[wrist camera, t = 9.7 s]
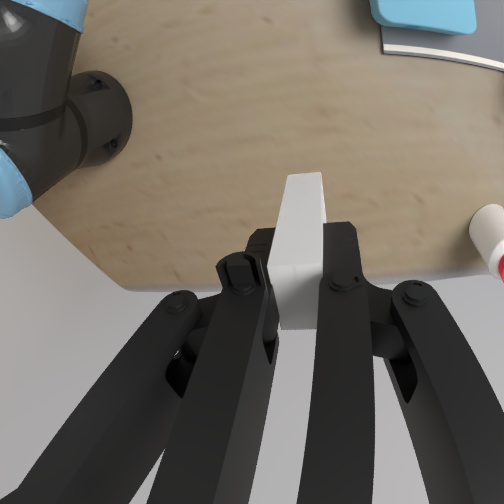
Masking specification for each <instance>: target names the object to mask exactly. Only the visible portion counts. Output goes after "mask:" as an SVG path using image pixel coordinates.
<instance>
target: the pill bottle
mask: <svg viewBox="0 0 504 504" xmlns="http://www.w3.org/2000/svg"><path fill="white" fill-rule="evenodd" d="M469 235H470V238H471V240H472V242H473V243H474V245H475V247H476V248H477V250H478V252H479V254H480V255H481V257H482V259H483V261H484V263H485V264H486V266H487V268H488V270H489V272H490V274H491V275H492V276H493V277H495V278H497V279H502V281H503V282H504V209H503V208H502V207H501V206H500V205H497V204H489V205H486V206H484V207H482V208H481V209H479V210H478V211H477V212H476V213H475V215H474V216H473V218H472V220H471V222H470V226H469Z"/></svg>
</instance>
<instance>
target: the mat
mask: <svg viewBox="0 0 504 504" xmlns="http://www.w3.org/2000/svg"><path fill="white" fill-rule="evenodd" d="M474 7H475V15H476V24H477V26H476V30H475V32H474V33H473V34H470V35H450V34H444V33H438V32H432V31H426V30H418V29H410V28H401V27H391V26H383V25H381V24H380V26H381V35H382V44H383V53H387V54H401V55H413V56H422V57H430V58H438V59H445V60H451V61H457V62H463V63H468V64H473V65H478V66H483V67H487V68H492V69H496V70H500V71H504V0H474Z"/></svg>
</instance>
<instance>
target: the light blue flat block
mask: <svg viewBox="0 0 504 504" xmlns="http://www.w3.org/2000/svg"><path fill="white" fill-rule="evenodd" d="M369 1H370V8H371V14H372V17H373V18H374V20H375V21H376V22H377V23H379V24H381V25H383V26H391V27H401V28H410V29H418V30H426V31H432V32H438V33H444V34H450V35H470V34H473V33H474V32H475V30H476V26H477V24H476V15H475V7H474V0H369Z"/></svg>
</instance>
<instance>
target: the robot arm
mask: <svg viewBox="0 0 504 504" xmlns="http://www.w3.org/2000/svg"><path fill="white" fill-rule="evenodd" d="M87 7H88V0H0V218H2V219H4V218H9V217H12V216H13V215H15V214H16V213H18V212H19V211H20V210H22V209H23V208H25V207H28V206H30V204H31V203H32V202H34V201H35V200H36V199H37V198H38V197H40V196H41V195H42V194H43V193H45V192H46V191H47V190H48V189H50V188H51V187H52V186H54V185H55V184H56V183H57V182H59V181H60V180H61V179H63V178H64V177H65V176H67V175H68V174H69V173H71V172H72V171H74V170H75V169H78V168H84V167H90V166H96V165H100V164H103V163H105V162H107V161H108V160H110V159H111V158H113V157H114V156H116V155H117V154H118V153H119V152H120V151H121V150H122V149H123V148H124V147H125V145H126V143H127V141H128V139H129V136H130V133H131V129H132V109H131V104H130V101H129V98H128V96H127V94H126V92H125V90H124V88H123V87H122V86H121V84H120V83H119V82H118V81H117V80H116V79H115V78H113V77H112V76H110V75H109V74H107V73H104V72H101V71H87V72H83V73H79V74H76V75H74V76H72V77H71V74H72V69H73V64H74V60H75V56H76V52H77V48H78V44H79V40H80V36H81V34H82V33H83V23H84V19H85V15H86V11H87ZM215 267H216V270H217V273H218V276H219V278H220V281H221V284H222V287H223V289H222V292H221V293H220V294H217V295H214V296H210V297H206V298H203V299H199V300H198V299H197V297H196V295H195V294H194V293H193V292H191V291H188V290H180V291H176V292H173V293H171V294H169V295H167V296H166V297H165V298H164V299H163V300H161V301H160V303H159V304H158V305H157V306H156V308H155V309H154V310H153V311H152V312H151V313H150V315H149V316H148V317H147V318H146V320H145V321H144V322H143V324H141V326H140V327H139V328H138V329H137V331H136V332H135V333H134V334H133V336H132V337H131V338H130V339H129V340H128V342H127V343H126V344H125V345H124V347H123V348H122V349H121V350H120V352H119V353H118V354H117V356H116V357H115V358H114V359H113V361H112V362H111V363H110V364H109V366H108V367H107V368H106V369H105V371H104V372H103V373H102V374H101V376H100V377H99V378H98V380H97V381H96V382H95V384H94V385H93V386H92V387H91V389H90V390H89V391H88V392H87V394H86V395H85V396H84V398H83V399H82V401H81V402H80V403H79V404H78V406H77V407H76V408H75V410H74V411H73V412H72V414H71V415H70V416H69V418H68V419H67V420H66V421H65V423H64V424H63V426H62V427H61V428H60V430H59V431H58V433H57V434H56V435H55V436H54V438H53V439H52V441H51V442H50V443H49V445H48V446H47V447H46V449H45V450H44V451H43V453H42V454H41V456H40V457H39V458H38V460H37V461H36V463H35V464H34V465H33V467H32V468H31V470H30V471H29V473H28V474H27V475H26V477H25V478H24V480H23V481H22V483H21V484H20V485H19V487H18V488H17V489H16V490H14V491H13V492H11V493H10V494H8V495H7V496H5V497H4V498H2V499H1V500H0V504H129V503H130V501H131V500H132V498H133V497H134V495H135V494H136V492H137V491H138V489H139V488H140V486H141V485H142V483H143V482H144V480H145V478H146V477H147V475H148V474H149V472H150V471H151V469H152V468H153V466H154V465H155V463H156V461H157V460H158V458H159V457H160V455H161V454H162V452H163V451H164V449H165V451H164V454H163V456H162V459H161V462H160V465H159V468H158V471H157V474H156V477H155V480H154V483H153V486H152V489H151V491H150V495H149V498H148V500H147V503H146V504H248V502H249V498H250V493H251V489H252V484H253V479H254V475H255V470H256V465H257V460H258V455H259V451H260V446H261V441H262V435H263V430H264V425H265V420H266V415H267V409H268V404H269V399H270V393H271V387H272V381H273V376H274V370H275V365H276V359H277V353H278V347H279V337H278V333H277V330H278V323H279V322H280V326H281V330H292V329H294V330H296V329H317V332H316V347H315V360H314V372H313V382H312V392H311V402H310V411H309V421H308V429H307V437H306V444H305V452H304V459H303V466H302V473H301V480H300V486H299V492H298V498H297V504H372V494H373V478H374V454H375V451H374V450H375V400H374V399H375V398H374V397H375V396H374V370H373V356H377V357H382V358H383V359H384V362H385V365H386V368H387V370H388V373H389V376H390V378H391V381H392V384H393V387H394V390H395V392H396V395H397V398H398V401H399V404H400V407H401V410H402V412H403V415H404V418H405V421H406V424H407V428H408V431H409V433H410V437H411V440H412V443H413V446H414V449H415V453H416V456H417V460H418V463H419V467H420V470H421V474H422V477H423V481H424V485H425V488H426V492H427V496H428V500H429V504H504V412H503V410H502V408H501V405H500V403H499V401H498V399H497V397H496V395H495V393H494V391H493V389H492V387H491V385H490V383H489V381H488V379H487V377H486V375H485V373H484V371H483V369H482V367H481V365H480V364H479V362H478V360H477V358H476V356H475V354H474V353H473V351H472V349H471V347H470V346H469V344H468V342H467V340H466V339H465V337H464V335H463V333H462V332H461V330H460V329H459V327H458V325H457V323H456V322H455V320H454V319H453V317H452V316H451V314H450V312H449V311H448V309H447V307H446V306H445V304H444V303H443V301H442V300H441V298H440V297H439V295H438V294H437V292H436V291H435V290H434V289H433V287H432V286H431V285H429V284H427V283H425V282H423V281H418V280H408V281H404V282H402V283H399V284H398V285H397V286H396V287H395V288H394V289H393V290H388V289H382V288H379V287H376V286H374V285H372V284H371V283H369V282H368V281H367V280H366V279H365V277H364V276H363V272H362V266H361V258H360V251H359V246H358V239H357V232H356V228H355V227H354V226H353V225H352V224H351V223H350V222H334V223H326V213H325V204H324V194H323V186H322V177H321V172H316V173H304V174H294V175H288V178H287V182H286V186H285V191H284V195H283V200H282V204H281V208H280V213H279V217H278V221H277V226H276V228H263V229H257V230H256V231H255V232H254V233H253V234H252V235H251V236H250V238H249V241H248V243H247V247H246V249H245V252H243V251H242V252H236V253H232V254H230V255H228V256H225V257H224V258H223V259H221V260H220V261H219V262H218V263H217V265H216V266H215ZM177 351H179V352H178V353H177ZM176 353H177V354H176ZM175 354H176V355H175Z"/></svg>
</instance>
